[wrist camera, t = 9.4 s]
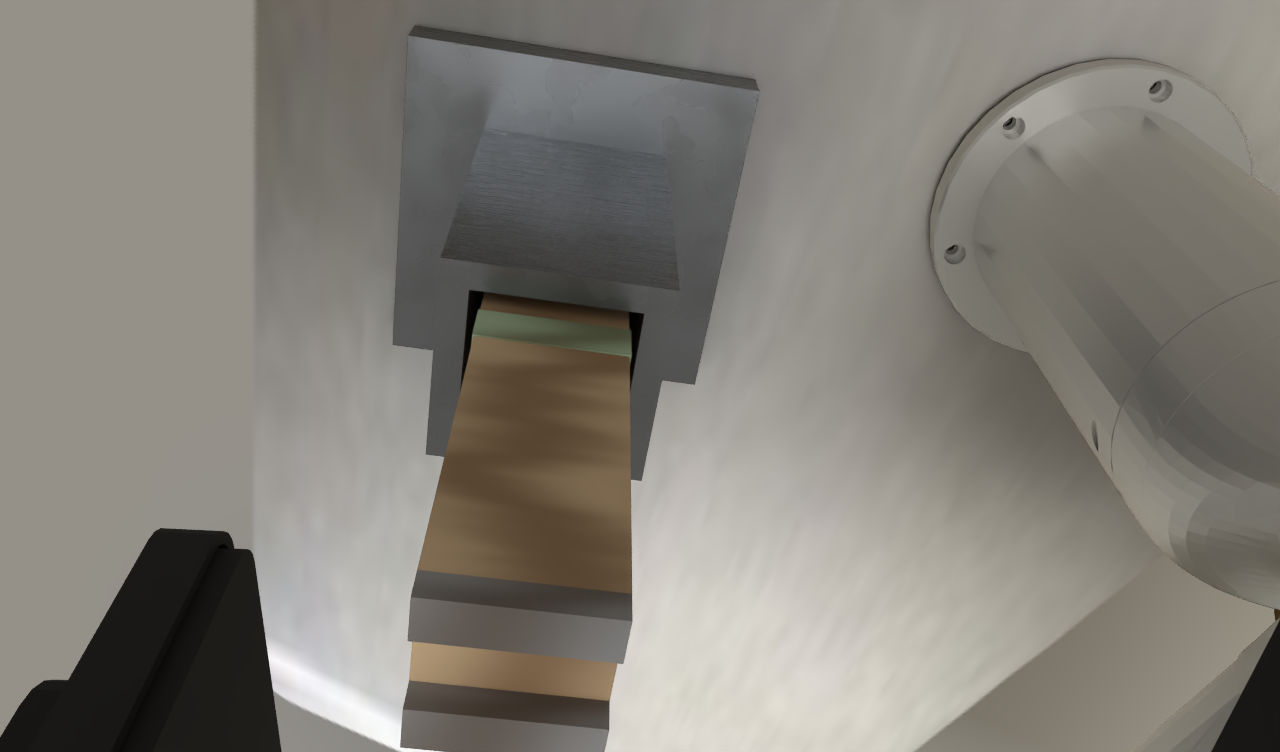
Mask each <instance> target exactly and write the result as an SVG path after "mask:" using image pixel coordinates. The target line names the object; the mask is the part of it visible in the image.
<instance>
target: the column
mask: <svg viewBox="0 0 1280 752" xmlns="http://www.w3.org/2000/svg"><path fill="white" fill-rule="evenodd" d="M631 356H632V350H631V330H629V311H621V310H614V309H607V308H599V307H592V306H585V305H577V304H570V303H563V302H556V301H548V300H541V299H534V298H526V297H519V296H512V295H504V294H497V293H490V292H484V296H483V300H482V304H481V308H480V309H478V312H477V316H476V320H475V325H474V329H473V333H472V341H471V350H470V354H469V358H468V362H467V366H466V370H465V374H464V379H463V383H462V387H461V391H460V395H459V399H458V403H457V408H456V412H455V416H454V420H453V424H452V428H451V432H450V437H449V441H448V445H447V449H446V453H445V457H444V461H443V466H442V470H441V474H440V478H439V482H438V486H437V490H436V495H435V499H434V503H433V507H432V511H431V515H430V519H429V524H428V528H427V532H426V536H425V540H424V544H423V548H422V553H421V557H420V561H419V565H418V569H417V573H416V577H415V582H414V586H413V590H412V594H411V601H410V615H409V629H408V641H411V642H412V650H411V664H410V678H409V684H408V689H407V693H406V698H405V702H404V707H403V715H402V729H401V744H400V747H402V748H413V749H423V750H434V751H444V752H604V751H605V746H606V742H607V737H608V732H609V701H610V696H611V691H612V687H613V682H614V677H615V672H616V668H617V663H619V664H623V663H624V658H625V653H626V649H627V644H628V639H629V635H630V630H631V625H632V543H631V447H630V361H631Z"/></svg>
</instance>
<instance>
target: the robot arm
mask: <svg viewBox="0 0 1280 752" xmlns="http://www.w3.org/2000/svg"><path fill="white" fill-rule="evenodd" d="M1155 82H1157V84H1156V86H1155V87H1154V88H1153V89H1152V90H1150V88H1151V86H1152V85H1153V84H1154V83H1155ZM1012 117H1013V120H1012V122H1011V124H1010V125H1008V126H1003V124H1004V123H1005V122H1006V120H1008V119H1010V118H1012ZM953 245H955V247H954V248H953V249H951V250H947V249H948V248H949V247H951V246H953ZM930 248H931V253H932V258H933V264H934V269H935V271H936V273H937V275H938V278H939V280H940V282H941V284H942V287H943V289H944V291H945V293H946V294H947V296H948V297H949V299H950V301H951V302H952V304H953V305H954V307H955V309H956V310H957V311H958V312H959V313H960V314H961V315H962V316H963V318H964V319H965V320H966V321H967V322H968V323H969V324H970V325H971V326H972V327H973V328H975V329H976V330H978V331H979V332H981V333H982V334H984V335H985V336H987V337H988V338H990V339H991V340H993V341H995V342H998V343H1000V344H1003V345H1005V346H1007V347H1010V348H1012V349H1015V350H1018V351H1024V352H1029V353H1030V354H1031V356H1032V357H1033V359H1034V360H1035V362H1036V364H1037V365H1038V367H1039V368H1040V370H1041V371H1042V373H1043V375H1044V376H1045V378H1046V379H1047V381H1048V382H1049V384H1050V385H1051V387H1052V389H1053V390H1054V392H1055V393H1056V395H1057V396H1058V398H1059V399H1060V401H1061V403H1062V404H1063V406H1064V407H1065V409H1066V410H1067V412H1068V414H1069V415H1070V417H1071V418H1072V420H1073V421H1074V423H1075V424H1076V426H1077V428H1078V429H1079V431H1080V432H1081V434H1082V435H1083V437H1084V438H1085V440H1086V442H1087V443H1088V445H1089V446H1090V448H1091V449H1092V451H1093V453H1094V454H1095V456H1096V457H1097V459H1098V460H1099V462H1100V463H1101V465H1102V467H1103V468H1104V470H1105V471H1106V473H1107V474H1108V476H1109V477H1110V479H1111V481H1112V482H1113V484H1114V485H1115V487H1116V488H1117V490H1118V492H1119V493H1120V494H1121V496H1122V497H1123V499H1124V501H1125V502H1126V504H1127V506H1128V507H1129V509H1130V510H1131V512H1132V513H1133V515H1134V516H1135V518H1136V519H1137V521H1138V522H1139V524H1140V525H1141V527H1142V528H1143V529H1144V531H1145V532H1146V533H1147V534H1148V536H1149V537H1150V538H1151V539H1152V541H1153V542H1154V543H1155V544H1156V545H1157V547H1158V548H1159V549H1160V550H1161V551H1163V552H1164V553H1165V554H1166V555H1167V556H1168V557H1169V558H1170V559H1171V560H1172V561H1174V562H1175V563H1176V564H1177V565H1178V566H1180V567H1181V568H1182V569H1184V570H1185V571H1187V572H1188V573H1190V574H1192V575H1193V576H1195V577H1196V578H1198V579H1200V580H1201V581H1203V582H1205V583H1207V584H1209V585H1211V586H1212V587H1214V588H1216V589H1218V590H1221V591H1223V592H1225V593H1228V594H1231V595H1233V596H1236V597H1239V598H1242V599H1244V600H1247V601H1250V602H1253V603H1256V604H1259V605H1263V606H1266V607H1269V608H1274V609H1278V610H1280V196H1278V195H1277V194H1276V193H1274V192H1273V191H1271V190H1270V189H1269V188H1267V187H1266V186H1265V185H1263V184H1262V183H1260V182H1259V181H1258V180H1256V179H1255V178H1254V177H1252V160H1251V156H1250V152H1249V149H1248V145H1247V141H1246V137H1245V135H1244V133H1243V131H1242V129H1241V127H1240V125H1239V123H1238V122H1237V120H1236V118H1235V116H1234V114H1233V112H1232V111H1231V110H1230V109H1229V108H1228V107H1227V106H1226V105H1225V104H1224V103H1223V102H1222V101H1221V100H1220V99H1219V97H1218V96H1217V95H1216V94H1215V93H1214V92H1212V91H1211V90H1209V89H1208V88H1206V87H1205V86H1203V85H1202V84H1201V83H1199V82H1198V81H1196V80H1195V79H1193V78H1191V77H1189V76H1187V75H1185V74H1183V73H1181V72H1179V71H1177V70H1175V69H1173V68H1171V67H1169V66H1165V65H1160V64H1156V63H1152V62H1147V61H1143V60H1135V59H1104V60H1098V61H1092V62H1086V63H1080V64H1075V65H1072V66H1069V67H1066V68H1063V69H1061V70H1058V71H1055V72H1052V73H1049V74H1046V75H1044V76H1042V77H1040V78H1038V79H1036V80H1035V81H1033V82H1031V83H1029V84H1027V85H1025V86H1024V87H1022V88H1020V89H1018V90H1016V91H1015V92H1013V93H1012V94H1011V95H1009V96H1008V97H1007V98H1006V99H1004V100H1003V101H1002V102H1000V103H999V104H998V105H997V106H995V107H994V108H993V109H991V110H990V111H989V112H988V113H987V114H986V115H985V116H984V117H983V118H982V119H981V120H980V121H979V122H978V124H977V125H976V126H975V127H974V128H973V129H972V130H971V131H970V132H969V133H968V134H967V135H966V137H965V138H964V140H963V141H962V143H961V144H960V146H959V147H958V149H957V150H956V152H955V153H954V155H953V156H952V158H951V159H950V161H949V162H948V165H947V167H946V169H945V172H944V174H943V176H942V178H941V181H940V183H939V185H938V188H937V190H936V195H935V199H934V203H933V208H932V212H931V216H930ZM0 752H281V746H280V738H279V731H278V724H277V717H276V710H275V702H274V696H273V688H272V681H271V674H270V667H269V660H268V653H267V646H266V639H265V632H264V625H263V618H262V610H261V603H260V596H259V589H258V582H257V575H256V568H255V561H254V557H253V554H252V552H251V551H250V550H248V549H234V545H233V541H232V538H231V536H230V535H229V533H227V532H224V531H206V530H186V529H165V528H160V529H159V530H157V531H155V532H154V533H153V535H152V536H151V537H150V538H149V540H148V542H147V543H146V545H145V547H144V549H143V550H142V552H141V554H140V556H139V557H138V559H137V561H136V563H135V564H134V566H133V568H132V570H131V571H130V573H129V575H128V577H127V578H126V580H125V582H124V584H123V586H122V587H121V589H120V591H119V592H118V594H117V596H116V598H115V599H114V601H113V603H112V605H111V607H110V608H109V610H108V612H107V613H106V615H105V617H104V619H103V620H102V622H101V624H100V626H99V627H98V629H97V631H96V633H95V634H94V636H93V638H92V640H91V641H90V643H89V645H88V646H87V648H86V650H85V652H84V654H83V655H82V657H81V659H80V661H79V662H78V664H77V666H76V667H75V669H74V671H73V673H72V674H71V676H70V678H69V680H46V681H43V682H42V683H40V684H39V685H37V686H36V687H35V688H33V689H32V690H31V691H30V693H29V694H28V695H27V696H26V698H25V699H24V700H23V702H22V703H21V704H20V706H19V707H18V709H17V711H16V712H15V714H14V716H13V717H12V719H11V721H10V722H9V724H8V725H7V727H6V729H5V730H4V732H3V734H2V735H1V737H0ZM1130 752H1280V618H1279V619H1278V620H1276V621H1275V622H1274V623H1273V624H1272V625H1271V626H1270V627H1269V628H1268V629H1267V630H1266V631H1265V632H1264V633H1263V634H1261V635H1260V636H1259V637H1258V638H1257V639H1256V640H1255V641H1254V642H1253V643H1252V644H1250V645H1249V646H1248V647H1247V648H1246V649H1245V650H1243V651H1242V653H1241V654H1240V655H1239V657H1238V659H1237V660H1236V661H1235V662H1234V663H1233V664H1232V665H1230V666H1229V667H1228V668H1227V669H1226V670H1225V671H1224V672H1222V673H1221V674H1220V675H1219V676H1218V677H1217V678H1215V679H1214V680H1213V681H1212V682H1211V683H1210V684H1208V685H1207V686H1206V687H1205V688H1204V689H1203V690H1202V691H1200V692H1199V693H1198V694H1197V695H1196V696H1195V697H1193V698H1192V699H1191V700H1190V701H1189V702H1188V703H1186V704H1185V705H1184V706H1183V707H1182V708H1180V709H1179V710H1178V711H1177V712H1176V713H1175V714H1174V715H1172V716H1171V717H1170V718H1169V719H1168V720H1166V721H1165V722H1164V723H1163V724H1162V725H1161V726H1159V727H1158V728H1157V729H1156V730H1155V731H1154V732H1153V733H1152V734H1150V735H1149V736H1148V737H1147V738H1146V739H1144V740H1143V741H1142V742H1141V743H1140V744H1139V745H1137V746H1136V747H1135V748H1134V749H1133V750H1132V751H1130Z"/></svg>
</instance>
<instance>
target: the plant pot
mask: <svg viewBox="0 0 1280 752" xmlns="http://www.w3.org/2000/svg"><path fill="white" fill-rule="evenodd" d="M1274 613H1275V620H1278V619H1279V618H1280V610H1278V609H1274Z"/></svg>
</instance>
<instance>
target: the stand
mask: <svg viewBox="0 0 1280 752" xmlns="http://www.w3.org/2000/svg"><path fill="white" fill-rule="evenodd" d="M758 96H759V88H758V86H757V83H756V80H753V79H747V78H741V77H734V76H728V75H722V74H716V73H709V72H703V71H697V70H690V69H684V68H678V67H672V66H665V65H659V64H653V63H647V62H640V61H634V60H628V59H621V58H615V57H609V56H603V55H596V54H590V53H584V52H577V51H571V50H565V49H559V48H552V47H546V46H540V45H534V44H527V43H521V42H515V41H508V40H502V39H496V38H490V37H483V36H477V35H471V34H464V33H458V32H452V31H446V30H439V29H433V28H427V27H421V26H414V28H413V29H412V31H411V32H410V34H409V35H408V49H407V69H406V89H405V109H404V129H403V148H402V168H401V188H400V208H399V228H398V248H397V268H396V288H395V308H394V328H393V345H397V346H405V347H413V348H420V349H428V350H433V363H432V377H431V391H430V404H429V418H428V432H427V446H426V454H427V455H435V456H443V457H445V453H446V449H447V445H448V441H449V437H450V432H451V428H452V424H453V420H454V416H455V412H456V408H457V403H458V399H459V395H460V391H461V387H462V383H463V379H464V374H465V370H466V366H467V362H468V358H469V354H470V350H471V341H472V333H473V329H474V325H475V320H476V316H477V312H478V309H480V308H481V304H482V300H483V296H484V292H490V293H497V294H504V295H512V296H519V297H526V298H534V299H541V300H548V301H556V302H563V303H570V304H577V305H585V306H592V307H599V308H607V309H614V310H621V311H629V330H631V350H632V356H631V361H630V447H631V480H639V481H642V476H643V471H644V466H645V461H646V456H647V451H648V446H649V441H650V436H651V431H652V426H653V421H654V417H655V412H656V407H657V402H658V397H659V392H660V387H661V382H662V380H664V381H671V382H679V383H687V384H694V385H695V381H696V377H697V372H698V367H699V363H700V358H701V354H702V349H703V345H704V340H705V336H706V331H707V327H708V322H709V318H710V313H711V309H712V304H713V300H714V295H715V291H716V286H717V282H718V277H719V272H720V268H721V263H722V259H723V254H724V250H725V245H726V241H727V236H728V232H729V227H730V223H731V218H732V214H733V209H734V205H735V200H736V196H737V191H738V186H739V182H740V177H741V173H742V168H743V164H744V159H745V155H746V150H747V146H748V141H749V137H750V132H751V128H752V123H753V119H754V114H755V110H756V105H757V101H758Z"/></svg>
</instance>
